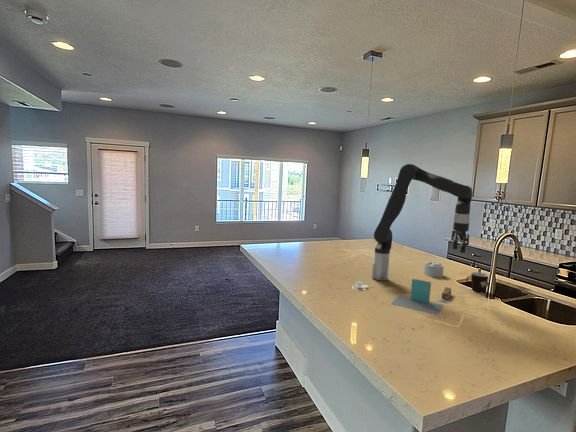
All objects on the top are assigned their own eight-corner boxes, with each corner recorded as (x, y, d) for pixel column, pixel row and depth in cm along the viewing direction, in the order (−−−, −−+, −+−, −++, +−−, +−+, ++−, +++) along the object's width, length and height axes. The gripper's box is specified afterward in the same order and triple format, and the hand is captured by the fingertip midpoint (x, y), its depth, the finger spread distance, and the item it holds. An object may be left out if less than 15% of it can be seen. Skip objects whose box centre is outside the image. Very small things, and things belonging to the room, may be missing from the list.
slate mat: (390, 305, 160) (390, 303, 160) (399, 296, 173) (399, 295, 173) (438, 316, 148) (438, 315, 148) (443, 306, 161) (443, 304, 161)
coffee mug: (484, 289, 190) (486, 273, 189) (488, 294, 182) (490, 277, 180) (462, 286, 193) (464, 270, 192) (465, 291, 185) (467, 274, 184)
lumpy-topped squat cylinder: (429, 277, 212) (430, 264, 211) (420, 271, 225) (421, 259, 224) (444, 277, 213) (445, 264, 212) (435, 271, 226) (436, 260, 225)
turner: (436, 302, 166) (436, 295, 166) (442, 293, 181) (442, 286, 180) (449, 305, 163) (449, 298, 162) (453, 295, 177) (454, 288, 177)
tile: (410, 299, 167) (411, 279, 166) (411, 298, 168) (412, 278, 167) (428, 303, 162) (430, 282, 161) (429, 302, 163) (431, 281, 162)
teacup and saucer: (368, 288, 187) (369, 281, 186) (365, 292, 180) (366, 285, 179) (353, 285, 191) (354, 279, 190) (350, 289, 183) (351, 282, 183)
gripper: (448, 220, 181) (445, 248, 183) (461, 223, 167) (458, 253, 169) (461, 220, 181) (459, 248, 183) (475, 223, 167) (472, 254, 169)
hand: (458, 250), depth 176 cm, fingers open, 8 cm apart
